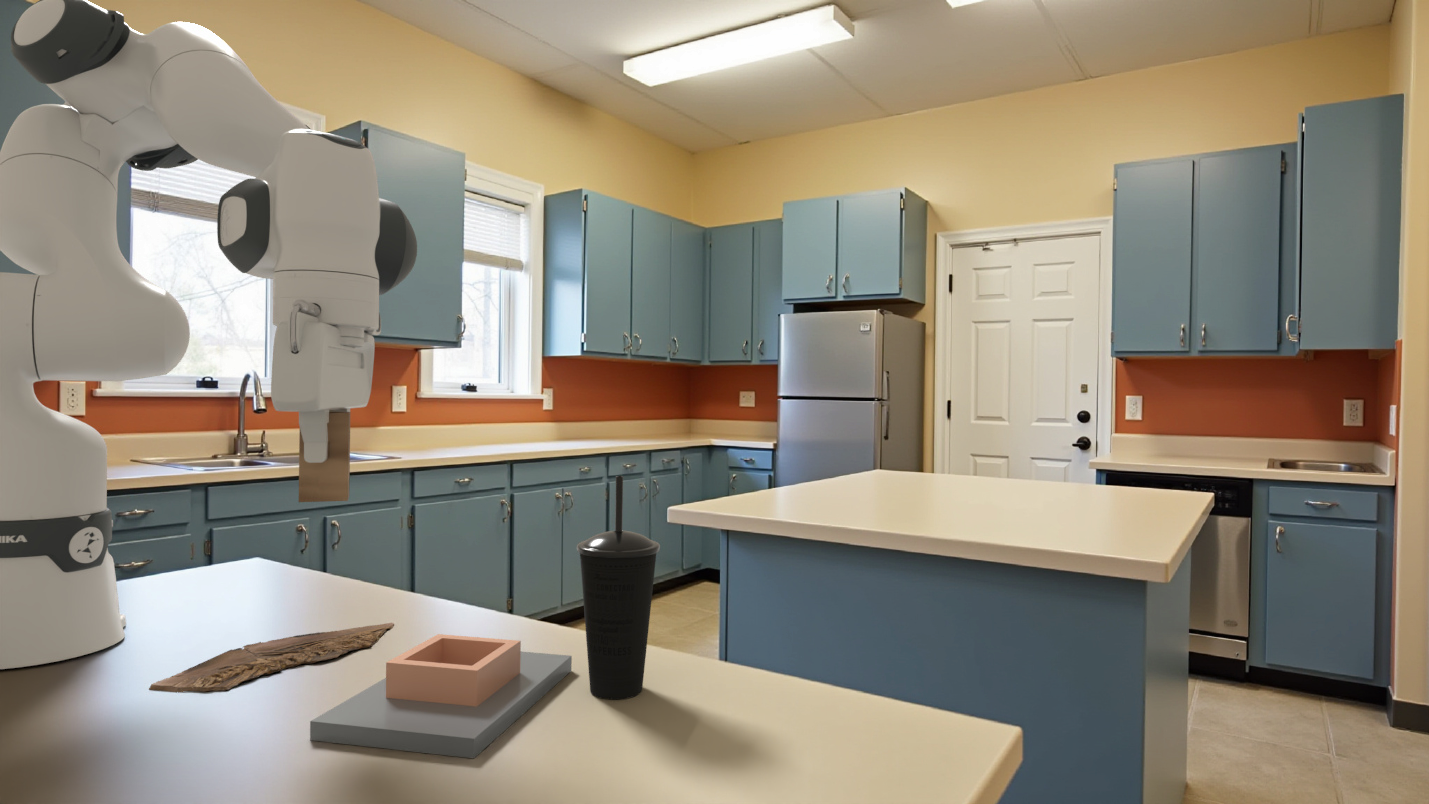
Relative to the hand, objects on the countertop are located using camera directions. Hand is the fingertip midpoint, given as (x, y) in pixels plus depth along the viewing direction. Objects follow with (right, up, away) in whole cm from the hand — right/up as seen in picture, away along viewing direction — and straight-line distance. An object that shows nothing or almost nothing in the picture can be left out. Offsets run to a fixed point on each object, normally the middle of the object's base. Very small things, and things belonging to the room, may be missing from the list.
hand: (325, 459), depth 75 cm
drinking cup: (+27, -22, +1) cm, 34 cm away
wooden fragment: (-8, -22, +10) cm, 25 cm away
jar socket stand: (+13, -21, -3) cm, 25 cm away
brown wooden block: (0, -4, 0) cm, 4 cm away
